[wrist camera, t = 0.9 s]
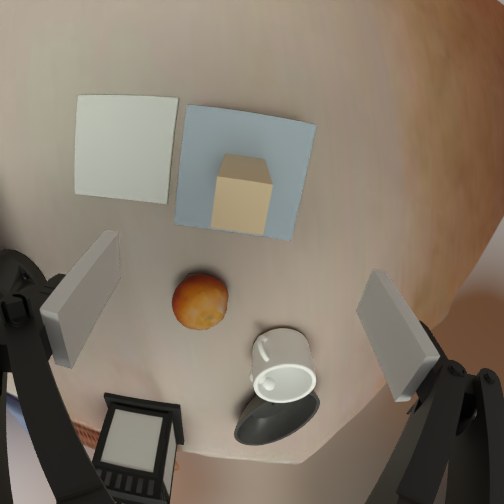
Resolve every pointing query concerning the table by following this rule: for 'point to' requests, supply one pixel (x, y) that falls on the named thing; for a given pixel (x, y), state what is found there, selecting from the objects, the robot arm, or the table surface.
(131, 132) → the mat
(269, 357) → the mug
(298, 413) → the bowl
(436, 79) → the table surface
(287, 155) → the lid
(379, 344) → the robot arm
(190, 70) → the table surface
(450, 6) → the table surface
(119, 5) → the table surface
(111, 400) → the lantern
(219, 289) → the fruit
